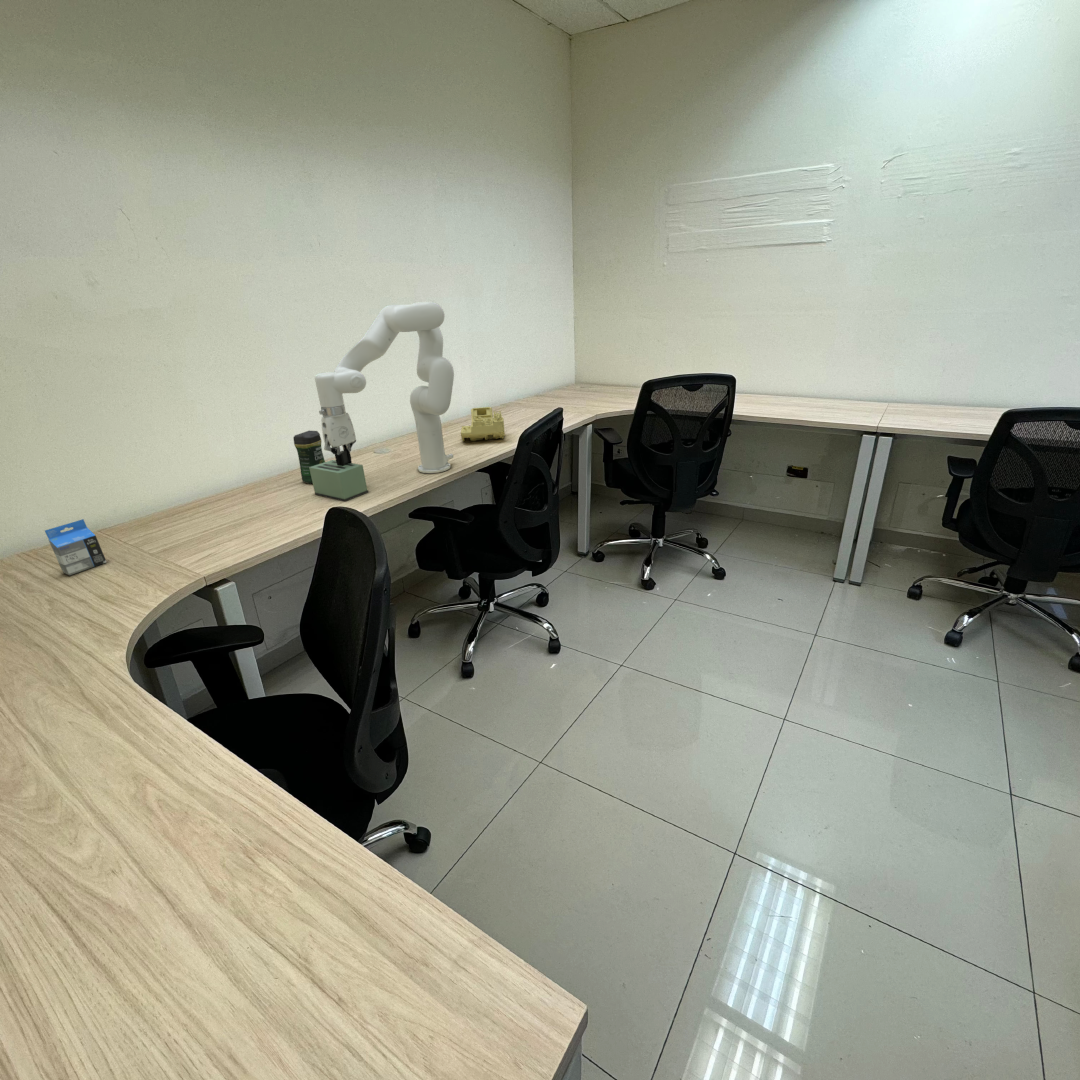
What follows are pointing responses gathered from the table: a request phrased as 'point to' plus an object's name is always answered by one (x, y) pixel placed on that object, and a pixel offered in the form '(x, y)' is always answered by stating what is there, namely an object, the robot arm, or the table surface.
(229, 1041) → the table surface
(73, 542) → the tape cartridge
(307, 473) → the coffee jar
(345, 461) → the slider
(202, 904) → the table surface
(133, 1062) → the table surface
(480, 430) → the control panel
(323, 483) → the toaster
